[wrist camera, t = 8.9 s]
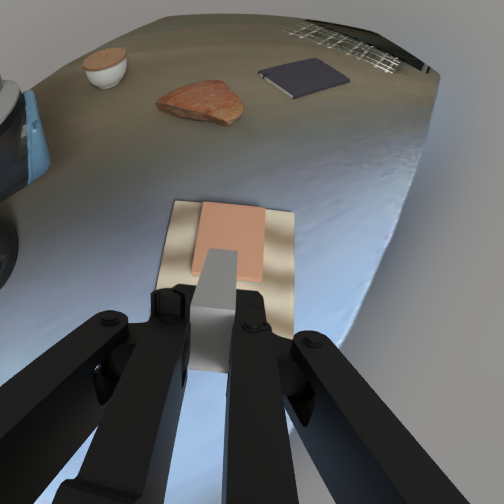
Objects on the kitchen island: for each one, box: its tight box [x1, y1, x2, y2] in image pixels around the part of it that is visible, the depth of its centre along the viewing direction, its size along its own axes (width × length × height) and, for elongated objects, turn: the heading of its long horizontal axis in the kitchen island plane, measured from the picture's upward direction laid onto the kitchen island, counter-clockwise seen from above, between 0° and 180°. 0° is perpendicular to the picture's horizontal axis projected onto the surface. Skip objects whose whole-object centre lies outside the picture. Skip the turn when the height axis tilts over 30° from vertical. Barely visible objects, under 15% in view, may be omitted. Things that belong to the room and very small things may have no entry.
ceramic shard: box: [156, 80, 244, 126], centre depth 57 cm, size 15×6×15 cm
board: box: [156, 201, 294, 340], centre depth 42 cm, size 20×18×1 cm
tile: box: [191, 202, 266, 283], centre depth 43 cm, size 2×9×11 cm
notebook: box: [259, 58, 350, 99], centre depth 69 cm, size 13×2×21 cm
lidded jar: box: [83, 47, 127, 89], centre depth 58 cm, size 11×11×9 cm
